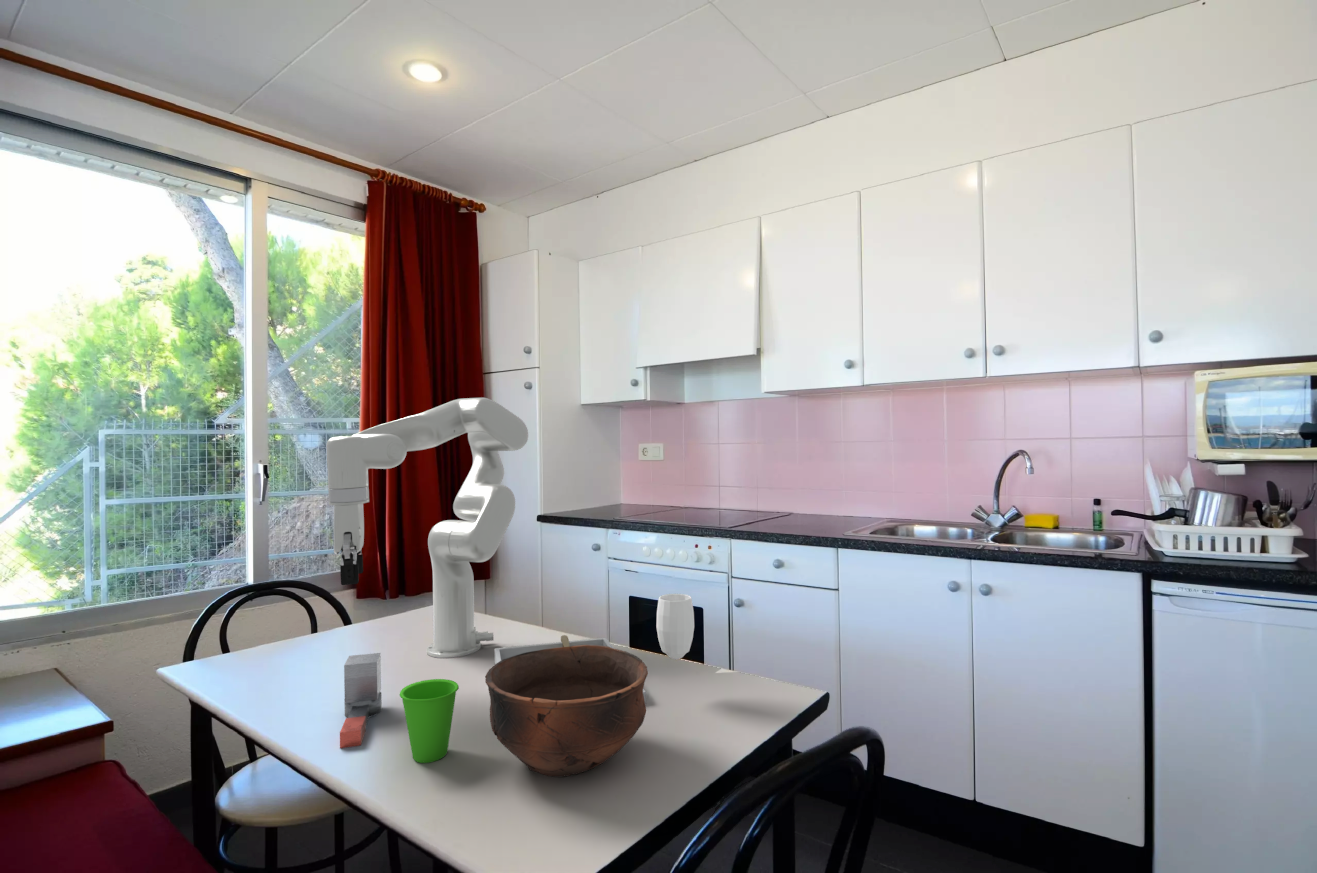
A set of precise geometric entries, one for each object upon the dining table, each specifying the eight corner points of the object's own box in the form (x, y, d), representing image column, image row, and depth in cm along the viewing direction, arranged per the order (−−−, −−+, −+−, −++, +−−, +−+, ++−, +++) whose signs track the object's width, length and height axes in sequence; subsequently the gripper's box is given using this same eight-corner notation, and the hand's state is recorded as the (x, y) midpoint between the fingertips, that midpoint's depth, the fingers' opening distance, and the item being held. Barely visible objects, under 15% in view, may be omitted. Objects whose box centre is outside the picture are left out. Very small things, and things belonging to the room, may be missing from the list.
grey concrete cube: (349, 692, 128) (349, 655, 128) (381, 688, 130) (380, 652, 130) (344, 703, 123) (344, 665, 123) (377, 699, 124) (377, 662, 124)
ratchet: (347, 707, 128) (347, 676, 128) (383, 703, 130) (383, 672, 130) (329, 749, 111) (329, 713, 111) (371, 744, 113) (370, 708, 113)
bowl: (503, 824, 89) (501, 710, 89) (475, 746, 111) (474, 655, 111) (673, 783, 99) (672, 681, 99) (616, 719, 121) (615, 636, 121)
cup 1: (425, 776, 101) (425, 704, 101) (388, 761, 106) (387, 692, 106) (471, 752, 109) (470, 685, 109) (434, 739, 114) (433, 675, 114)
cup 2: (697, 713, 123) (696, 601, 123) (658, 715, 123) (657, 602, 123) (693, 698, 131) (691, 592, 131) (656, 699, 130) (655, 593, 130)
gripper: (334, 493, 144) (337, 572, 145) (322, 502, 128) (326, 590, 128) (372, 491, 146) (375, 568, 147) (365, 499, 130) (368, 586, 131)
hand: (352, 578), depth 138 cm, fingers open, 9 cm apart
